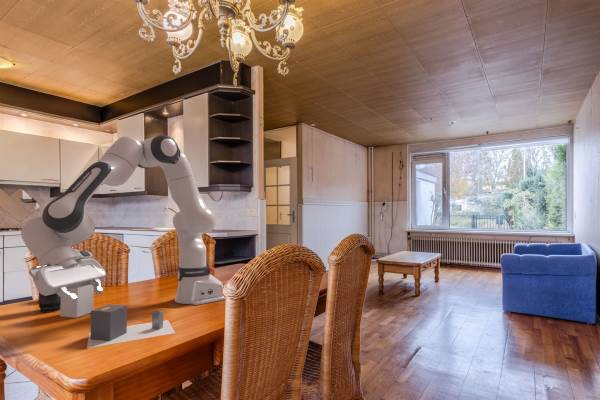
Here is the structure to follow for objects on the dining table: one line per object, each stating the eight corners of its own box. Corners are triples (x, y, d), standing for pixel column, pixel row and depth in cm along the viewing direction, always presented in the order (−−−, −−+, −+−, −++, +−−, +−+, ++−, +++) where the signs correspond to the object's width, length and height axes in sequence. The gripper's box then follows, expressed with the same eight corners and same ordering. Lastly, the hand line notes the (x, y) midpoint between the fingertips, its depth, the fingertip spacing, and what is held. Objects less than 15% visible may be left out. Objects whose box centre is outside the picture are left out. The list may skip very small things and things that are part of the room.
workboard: (167, 324, 109) (167, 319, 110) (175, 338, 97) (175, 332, 97) (89, 336, 98) (89, 331, 98) (86, 354, 86) (86, 348, 86)
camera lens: (47, 307, 130) (48, 269, 130) (68, 306, 130) (69, 268, 131) (32, 313, 122) (33, 272, 122) (55, 313, 122) (56, 272, 123)
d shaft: (157, 326, 103) (157, 310, 104) (164, 326, 103) (165, 310, 103) (152, 328, 101) (152, 312, 101) (159, 329, 100) (159, 312, 101)
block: (107, 331, 99) (108, 303, 99) (126, 333, 97) (127, 304, 98) (90, 339, 92) (91, 309, 93) (109, 341, 91) (110, 310, 92)
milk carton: (76, 318, 116) (78, 264, 117) (59, 317, 117) (61, 263, 118) (93, 312, 123) (94, 261, 124) (77, 311, 124) (78, 260, 125)
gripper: (33, 259, 89) (61, 298, 86) (94, 251, 109) (119, 282, 106) (19, 275, 90) (47, 314, 87) (83, 264, 110) (107, 295, 107)
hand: (87, 296), depth 97 cm, fingers open, 8 cm apart
